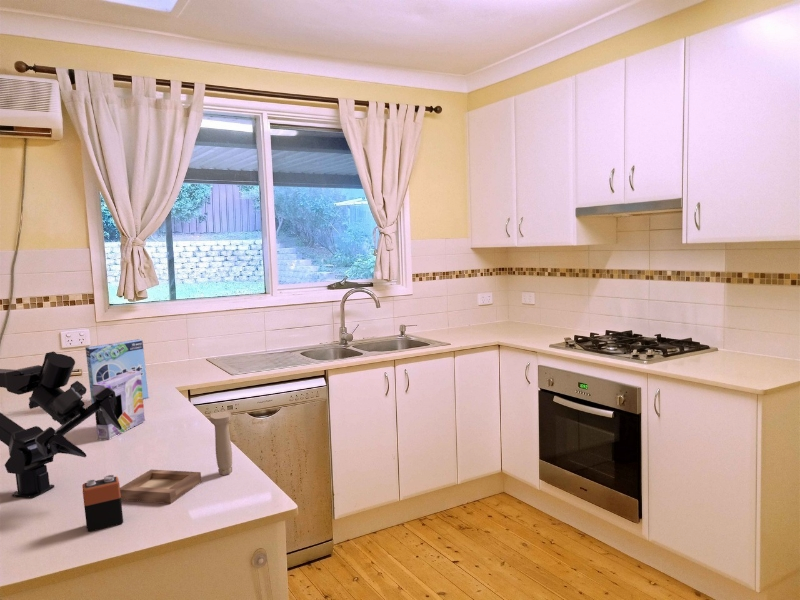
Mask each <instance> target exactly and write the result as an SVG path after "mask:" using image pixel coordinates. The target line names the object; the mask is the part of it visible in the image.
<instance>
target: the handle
mask: <svg viewBox="0 0 800 600" xmlns="http://www.w3.org/2000/svg"><path fill="white" fill-rule="evenodd" d="M231 421H232V413H231V412H230V411H227V410H226V411H225V410H224V411H217V412H212V413H211V414H210V423H211V424H213V425H214V436H215V437H214V439H215V441H214V442H215V445H214V446H215V457H216V464H217V469H218V471H217V472H218V474H219V475H222V476H226V475H230V474H231V473H232V472H233V451H232V450H233V449H232V443H231V436H230V435H231V434H230V429H229V428H230V427H229V423H230V422H231Z"/></svg>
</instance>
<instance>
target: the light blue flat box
mask: <svg viewBox="0 0 800 600" xmlns="http://www.w3.org/2000/svg"><path fill="white" fill-rule="evenodd" d="M85 357H86V364H87V365H86V366H87V372H88V373H87V374H88V381H89V392H90V400H91V401H90V402H91V404H93V403H94V400H93V387H92V386H93V384H95V383H98V382H101V381H103V380H106V379H108V378H110V377H113V376H116V375H120V374H122V373H125V372H128V371H141V381H142V393H143V400H145V399H149V397H150V396H149V388H148V387H149V386H148V381H147V380H148V379H147V371H146V369H147V368H146V361H145V351H144V341H143V340H142V339H133V340H126V341H119V342H113V343H107V344H100V345H99V344H98V345H94V346H87V347H85Z"/></svg>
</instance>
